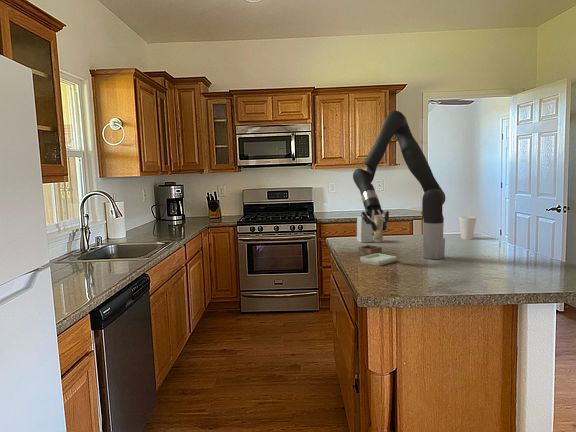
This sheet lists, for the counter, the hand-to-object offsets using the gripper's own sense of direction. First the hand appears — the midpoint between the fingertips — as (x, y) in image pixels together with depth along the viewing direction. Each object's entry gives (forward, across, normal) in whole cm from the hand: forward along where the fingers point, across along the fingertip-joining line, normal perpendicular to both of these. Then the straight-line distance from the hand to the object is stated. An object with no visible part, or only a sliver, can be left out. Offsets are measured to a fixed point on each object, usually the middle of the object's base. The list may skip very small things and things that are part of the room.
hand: (380, 229), depth 187 cm
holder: (-2, +2, +24) cm, 24 cm away
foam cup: (-20, +74, +42) cm, 87 cm away
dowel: (+3, 0, +5) cm, 6 cm away
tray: (+10, 0, +12) cm, 15 cm away
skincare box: (-25, +12, +47) cm, 55 cm away
